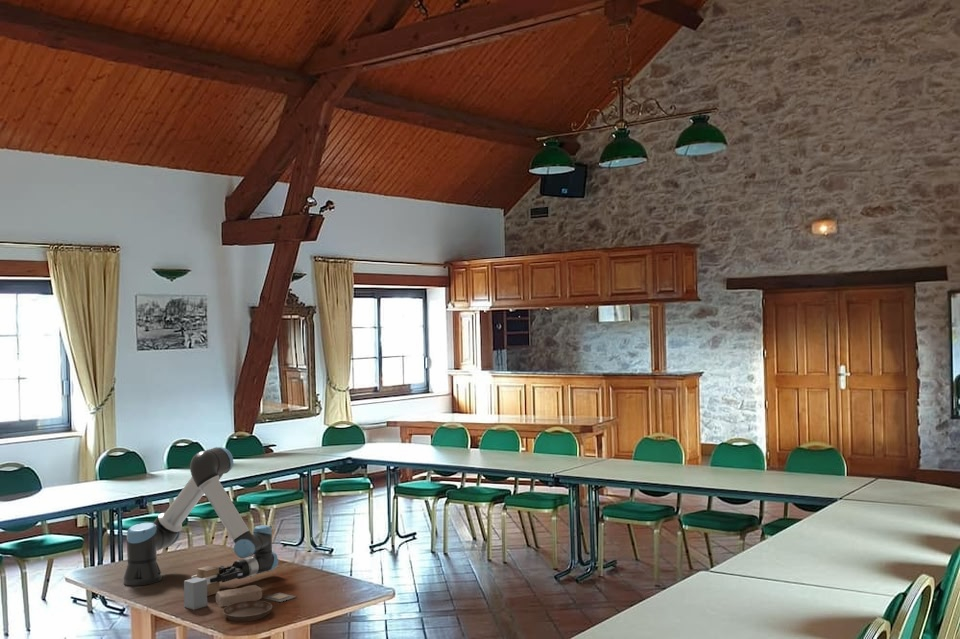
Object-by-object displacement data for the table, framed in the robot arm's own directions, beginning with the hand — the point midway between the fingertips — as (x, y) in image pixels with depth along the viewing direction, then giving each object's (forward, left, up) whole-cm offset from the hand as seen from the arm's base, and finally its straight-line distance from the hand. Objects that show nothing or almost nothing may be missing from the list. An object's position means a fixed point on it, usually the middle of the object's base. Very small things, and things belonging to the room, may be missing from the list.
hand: (197, 580), depth 363 cm
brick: (+18, +6, -7) cm, 20 cm away
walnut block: (0, +5, -6) cm, 8 cm away
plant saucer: (+36, -4, -7) cm, 37 cm away
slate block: (+10, -8, -6) cm, 14 cm away
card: (+29, +17, -6) cm, 34 cm away
